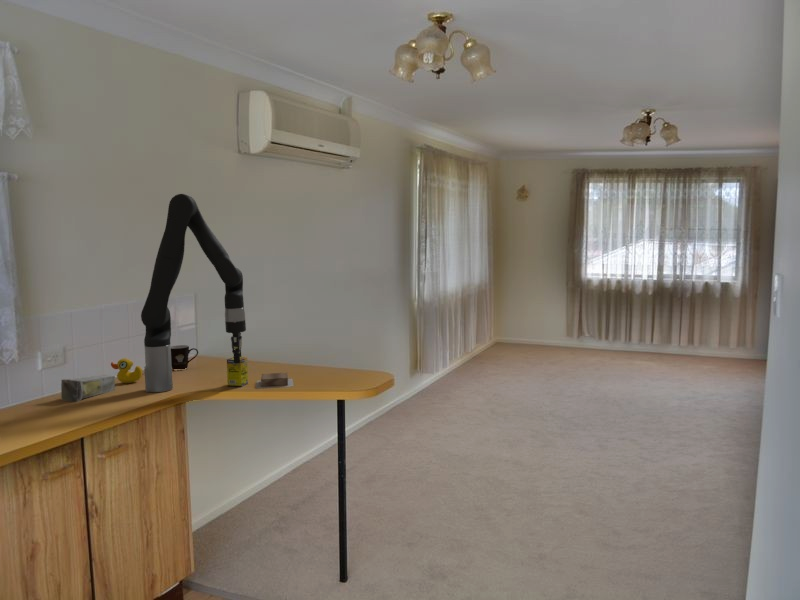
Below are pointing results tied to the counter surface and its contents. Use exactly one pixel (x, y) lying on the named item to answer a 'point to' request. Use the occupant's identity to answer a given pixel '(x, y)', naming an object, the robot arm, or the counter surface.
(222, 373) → the counter surface
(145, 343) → the robot arm
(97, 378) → the block
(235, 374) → the supplement box
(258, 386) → the pad
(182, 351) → the coffee mug
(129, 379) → the duckling
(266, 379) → the base block
